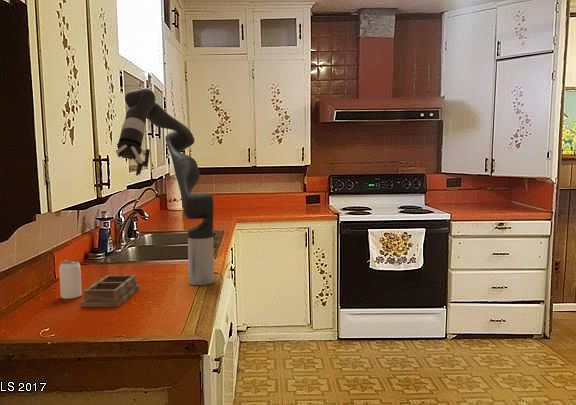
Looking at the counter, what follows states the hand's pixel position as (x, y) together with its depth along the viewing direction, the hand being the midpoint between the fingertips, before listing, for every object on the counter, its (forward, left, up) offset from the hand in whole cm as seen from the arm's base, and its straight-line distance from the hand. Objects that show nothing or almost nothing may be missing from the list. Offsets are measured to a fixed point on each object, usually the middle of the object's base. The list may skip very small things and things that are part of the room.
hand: (123, 171), depth 160 cm
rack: (+2, -5, -42) cm, 42 cm away
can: (+1, -19, -42) cm, 46 cm away
